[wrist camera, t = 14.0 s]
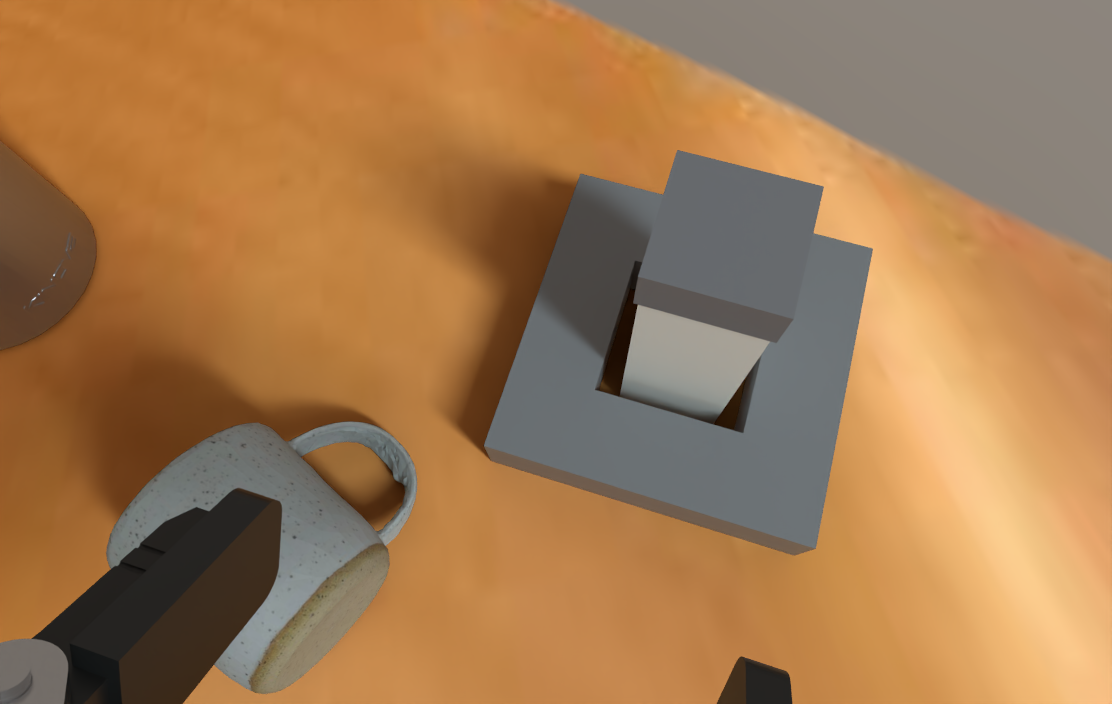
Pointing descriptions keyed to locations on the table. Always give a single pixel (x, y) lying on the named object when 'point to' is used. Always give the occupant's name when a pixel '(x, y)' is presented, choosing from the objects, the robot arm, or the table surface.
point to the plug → (716, 282)
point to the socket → (664, 437)
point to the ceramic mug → (283, 539)
